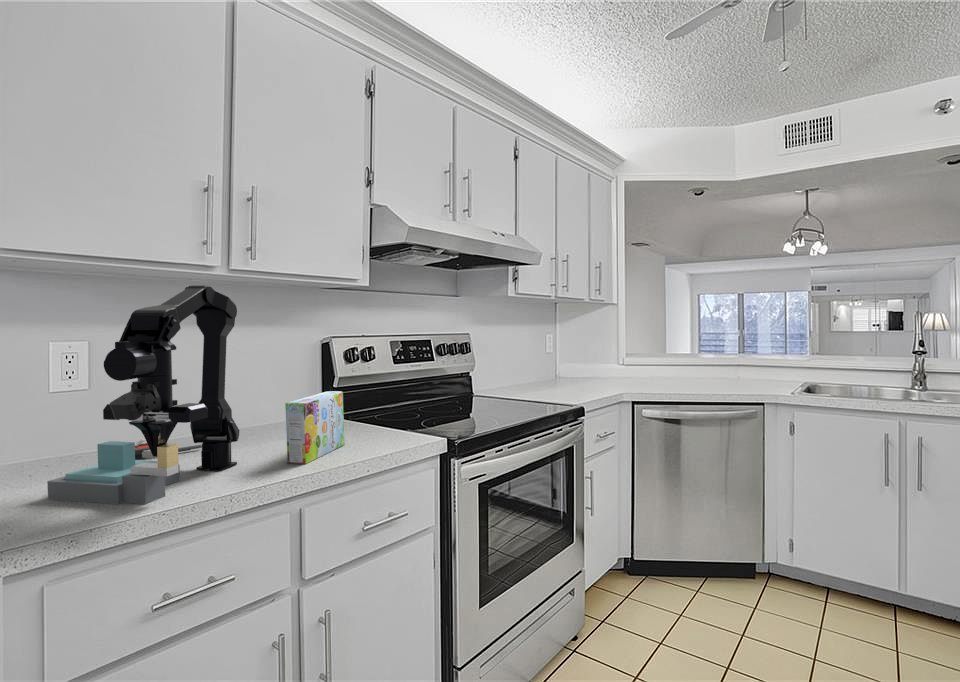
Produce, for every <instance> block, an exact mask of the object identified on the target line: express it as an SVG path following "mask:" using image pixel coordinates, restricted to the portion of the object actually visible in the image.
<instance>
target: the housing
mask: <svg viewBox="0 0 960 682" xmlns="http://www.w3.org/2000/svg"><path fill="white" fill-rule="evenodd" d="M178 466H179V467H180V464H179V463H178ZM180 476H181V474H180V468H179V472H178V473H175V474H172V475H170V476H151V475H134V474H128V475H125V476H122V482H120V483H108V482H92V481H76V480H66V477H65V475H64V476H60V477H57V478H54V479H51V480H47V500H54V501H55V500H56V501H67V502H68V501H69V502H81V503H83V502H84V503H96V504H97V503H98V504H107V505H108V504H109V505H110V504H111V505H112V504H113V505H120V504H123V503H124V504H138V505H139V504H140V505H147V504H149V503H152V502H155V501H157V500H159V499H161V498H163V497H166V487H167V486H168V485H172V484H174V483H177V482H179V481H181V480H180V479H181V478H180Z"/></svg>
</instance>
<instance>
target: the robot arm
mask: <svg viewBox="0 0 960 682" xmlns="http://www.w3.org/2000/svg"><path fill="white" fill-rule="evenodd" d="M237 314H238V308H237V305H236V303H235V302H234V301H233V300H232V299H231V298H230V297H229V296H228V295H225V294H222V293H220V292H218V291H216V290H215V289H213V287H211V286H209V285H206V284H204V285H203V284H201V285H199V284H197V285H193V284H191V285H188V286H185V288H184V290H182V291H181V292H179V293H177V294H176V295H174V296H172V297H171V298H170V299H168V300H166V301H164V302H162V303H161V304H158V305H155V306H154V305H153V306H146V307H141V308H139V309H136V310H134V311H132V313H131V314H130V317H129V319H128V321H127V323H126V325H125V328H124V330H123V332H122V334H121V336H120V339H119V340H118V341H115V342H114V348H113V349H111V350H109V352H108V353H107V355H106V356H105V359H104V361H103V369H104V372H105V373H106V374H107V376H108V377H109V378H111V379H112V380H114V381H119V382H122V381H129V380H134V379H137V381H135V380H134V381H131V384H130V391H129V392H127V393H124V394H122V395H120V396H119V397H117V398H116V399H113V400H112V401H111V402H110V403H108V404H106V405H105V407H104V408H103V409H102V415H103V416H102V417H103V418H102V419H103V421H105V420H108V421H109V420H111V421H120V420H128V424H129V425H130V426H134V427H135V428H137V429H138V430H140V432H141V433H142V435H143V437H144V439H146V441H145V442H146V443H147V444H148V446H149V448H150V451H151V453H152V455H153V456H154V457H157V447H159V446H162V445H166V443H168V440H169V439H170V436H171V434H172V433H173V431H175V430H174V429H176V426H177V424H178V423H182V424H183V423H184V424H186V423H190V432H191V436H192V441H193V444H201V445H202V448H201V452H200V455H201V465H200V466H197V467H196V470H198V471H199V470H200V471H214V472H215V471H216V472H217V471H218V472H221V471H223V470H226V469H229V468H231V467H233V466H236V465H238V461H232V443H235V442H238V440H239V439H240V429H239V427H238V425H237V424H236V422H235V420H234V418H233V413H232V410H233V409H232V408H231V406H230V404H229V403H228V401H227V400H226V397H225V395H226V363H227V360H226V359H227V338H228V336H229V334H230V333H231V332H232V330H233V328H234V327H235V321H236V317H237ZM191 315H194V317H195V319H196V320H195V321H196V325H197V327H198V329H199V331H200V332H201V334H202V335H203V343H202V344H203V345H202V346H203V349H202V371H201V373H202V377H201V397H200V400H199V401H198V403H196V402H195V403H193V402H192V403H191V402H188V403H182V404H178V400H177V399H173V386H175V385H178V379H177V378H173V369H172V367H173V365H172V363H173V362H172V351H176V350H177V345H175V344H174V343H173V342H171V340H172V339H173V338H174V337H175V336H176V335H177V333H178V332H179V331H181V329H182V328H181V323H182V322H183V321H184V320H186V319H187V318H188V317H189V316H191Z"/></svg>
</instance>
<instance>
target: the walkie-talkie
mask: <svg viewBox="0 0 960 682" xmlns="http://www.w3.org/2000/svg"><path fill="white" fill-rule="evenodd" d="M143 442H145V443H143ZM166 444H169V443H168V442H167V443H166ZM196 449H202V444H198V445H197V444H196V445H189V446H183V447H178V453H180V452H188V451H191V450H196ZM140 459H142V460H145V459H148V460H149V459H151V460H152V459H157V457H154V456H153V455H152V453H151V451H150V448H149V446H148V444H147V441H146V439H145V438H141V439H139V440H138V441H137V442H136V443H135V460H140Z"/></svg>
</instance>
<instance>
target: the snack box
mask: <svg viewBox="0 0 960 682" xmlns="http://www.w3.org/2000/svg"><path fill="white" fill-rule="evenodd" d="M284 404H285V407H284V408H285V426H286V429H285V433H286V454H287V455H286V456H287V458H286V459H287V460H286V461H287V462H286V463H287V464H296V465H297V464H298V465H299V464H300V465H301V464H303V465H306V464H309V463H311V462H314V460H317V459H318V458H321V457H323V456H326V455H327V454H329V453H330V452H333V451H335V450H337V449H338V448H340V447H342V446H345V444H346V443H345V441H346V440H345V419H344V418H345V417H344V416H345V415H344V392H343V391H337V390H335V391H333V390H332V391H329V390H327V391H324V392H323V391H322V392H320V393H317V394H313V395H310V396H305V397H302V398H298V399H295V400H291V401H288V402H286V403H284Z"/></svg>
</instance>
